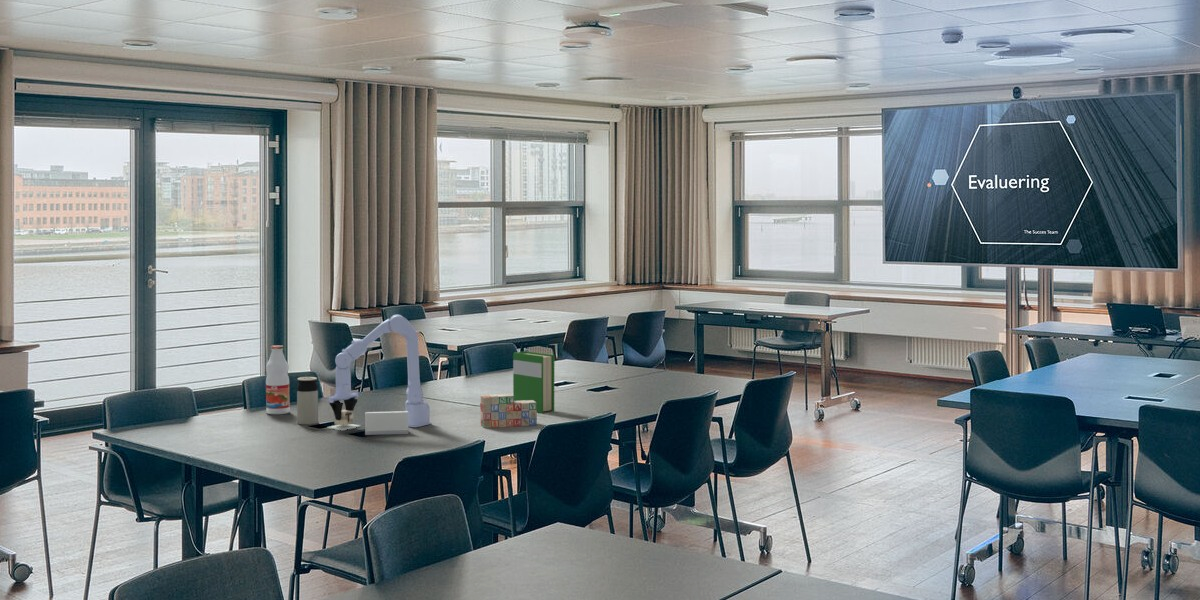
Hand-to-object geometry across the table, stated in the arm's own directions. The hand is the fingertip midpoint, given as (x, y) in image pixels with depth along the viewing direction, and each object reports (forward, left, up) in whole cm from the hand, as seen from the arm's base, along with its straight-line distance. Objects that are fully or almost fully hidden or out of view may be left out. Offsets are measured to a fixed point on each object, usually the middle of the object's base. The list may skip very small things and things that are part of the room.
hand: (343, 418), depth 442 cm
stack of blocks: (-40, +50, -4) cm, 64 cm away
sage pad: (0, 0, -3) cm, 3 cm away
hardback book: (-74, +37, -4) cm, 83 cm away
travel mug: (+1, -19, -4) cm, 19 cm away
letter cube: (0, 0, -2) cm, 2 cm away
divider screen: (-1, +21, -3) cm, 22 cm away
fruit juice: (-9, -47, -4) cm, 48 cm away
